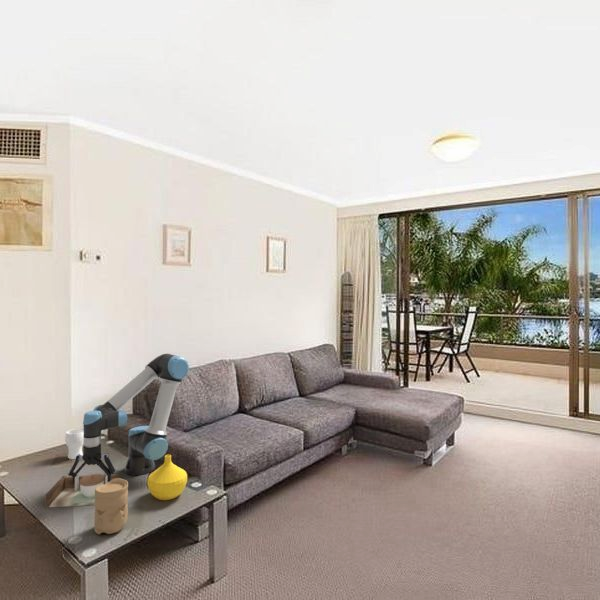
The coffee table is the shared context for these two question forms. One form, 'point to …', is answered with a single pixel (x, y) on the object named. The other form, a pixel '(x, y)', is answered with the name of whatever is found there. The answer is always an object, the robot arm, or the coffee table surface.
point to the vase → (167, 480)
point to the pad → (82, 499)
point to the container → (111, 506)
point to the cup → (74, 442)
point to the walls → (63, 484)
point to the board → (67, 498)
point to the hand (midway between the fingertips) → (92, 489)
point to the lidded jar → (91, 484)
